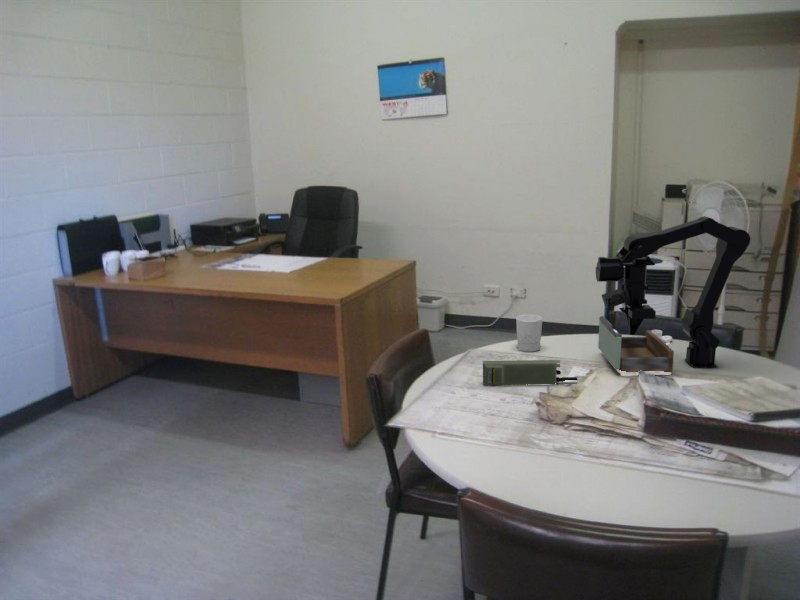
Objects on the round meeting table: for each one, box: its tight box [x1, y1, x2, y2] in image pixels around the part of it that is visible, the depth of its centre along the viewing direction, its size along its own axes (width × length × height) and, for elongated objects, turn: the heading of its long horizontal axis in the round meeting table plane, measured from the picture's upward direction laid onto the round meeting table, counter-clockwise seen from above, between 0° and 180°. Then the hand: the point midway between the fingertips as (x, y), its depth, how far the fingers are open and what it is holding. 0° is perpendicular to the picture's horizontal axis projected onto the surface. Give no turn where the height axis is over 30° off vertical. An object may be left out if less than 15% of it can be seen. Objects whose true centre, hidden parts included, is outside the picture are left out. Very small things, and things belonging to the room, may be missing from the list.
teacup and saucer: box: [651, 329, 673, 346], centre depth 196 cm, size 9×8×4 cm
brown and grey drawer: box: [603, 329, 675, 373], centre depth 178 cm, size 14×19×7 cm
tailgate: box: [597, 315, 623, 369], centre depth 177 cm, size 2×18×10 cm, turn 177°
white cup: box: [515, 314, 543, 353], centre depth 193 cm, size 8×8×10 cm
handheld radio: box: [482, 359, 578, 386], centre depth 167 cm, size 7×3×25 cm
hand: (631, 334), depth 176 cm, fingers closed
